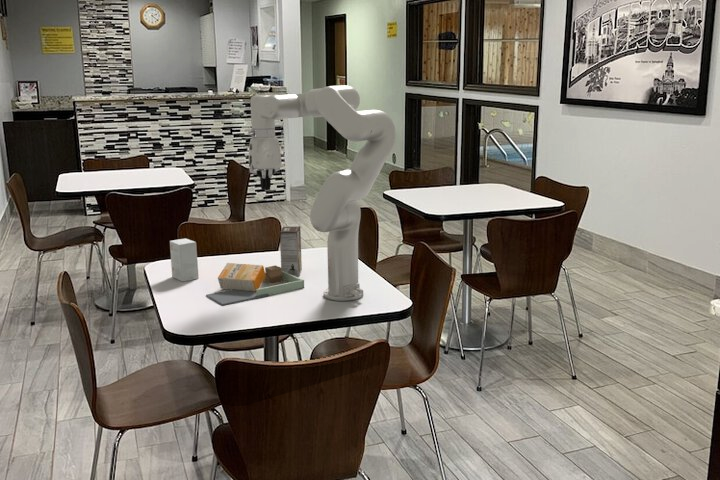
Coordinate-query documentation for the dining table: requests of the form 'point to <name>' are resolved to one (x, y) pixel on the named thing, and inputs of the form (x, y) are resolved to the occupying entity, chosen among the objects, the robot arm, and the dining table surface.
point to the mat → (234, 296)
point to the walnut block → (273, 274)
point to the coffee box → (291, 250)
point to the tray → (282, 285)
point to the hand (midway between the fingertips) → (265, 189)
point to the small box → (184, 259)
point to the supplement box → (241, 277)
